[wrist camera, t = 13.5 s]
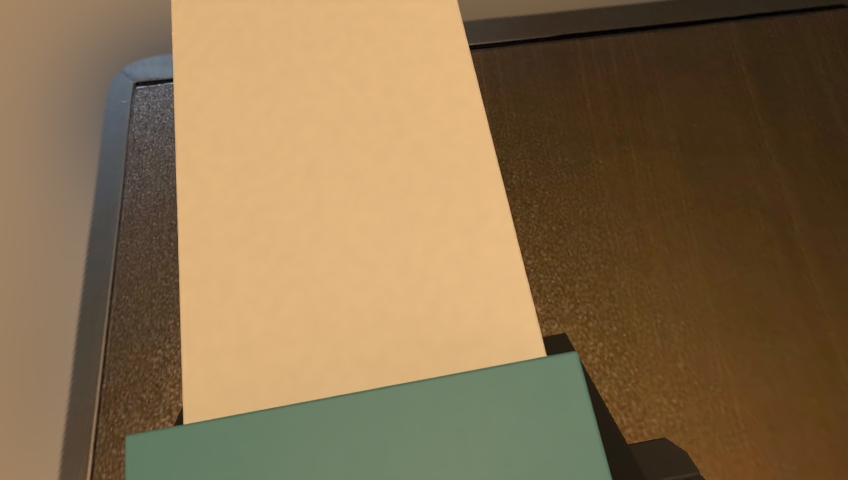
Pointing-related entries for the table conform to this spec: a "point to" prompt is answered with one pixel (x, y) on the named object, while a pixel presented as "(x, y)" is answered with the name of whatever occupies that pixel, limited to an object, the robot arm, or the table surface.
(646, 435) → the table surface
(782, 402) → the table surface
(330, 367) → the stepped block stack
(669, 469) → the robot arm
